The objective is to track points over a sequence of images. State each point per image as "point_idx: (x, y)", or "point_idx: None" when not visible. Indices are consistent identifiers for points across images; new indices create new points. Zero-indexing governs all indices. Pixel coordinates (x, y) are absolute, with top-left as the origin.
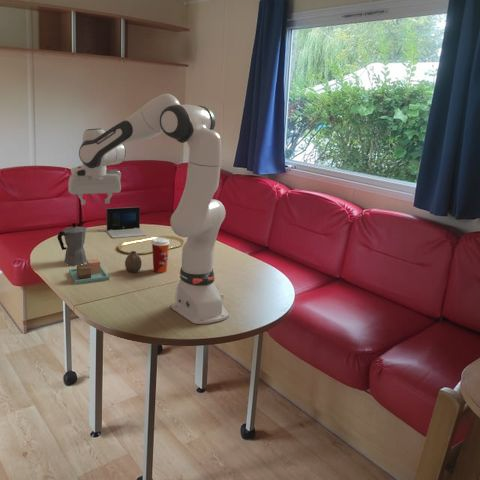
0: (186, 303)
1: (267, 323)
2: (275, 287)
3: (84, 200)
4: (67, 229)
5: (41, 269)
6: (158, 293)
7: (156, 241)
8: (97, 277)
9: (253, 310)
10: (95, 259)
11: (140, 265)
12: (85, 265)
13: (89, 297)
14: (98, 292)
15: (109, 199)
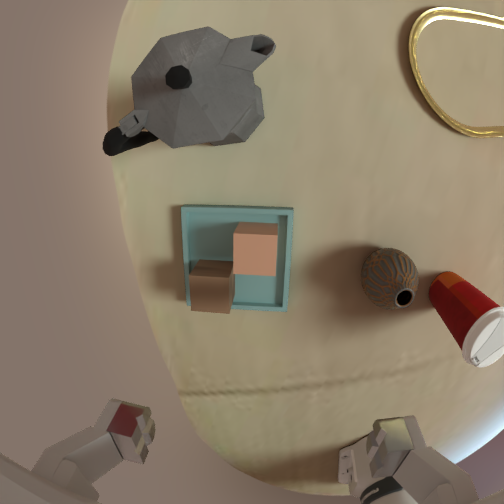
0: (351, 475)
1: None
2: None
3: (129, 452)
4: (148, 93)
5: None
6: (358, 405)
7: (474, 355)
8: (252, 306)
9: None
10: (266, 242)
11: (401, 296)
12: (216, 289)
13: (210, 377)
14: (235, 364)
15: (406, 475)
